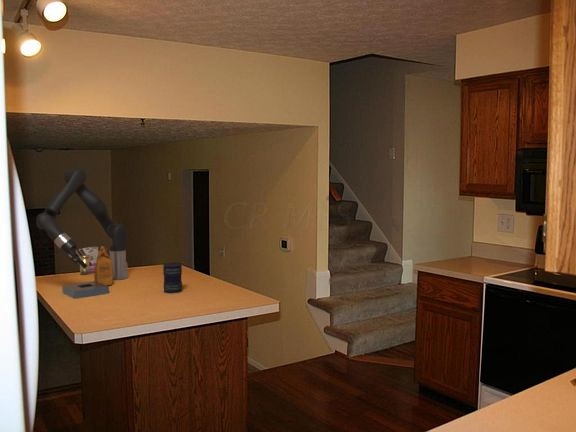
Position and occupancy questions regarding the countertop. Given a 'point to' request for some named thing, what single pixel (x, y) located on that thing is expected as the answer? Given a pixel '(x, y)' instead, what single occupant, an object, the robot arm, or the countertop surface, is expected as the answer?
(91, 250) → the candy bar box
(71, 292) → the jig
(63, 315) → the countertop surface
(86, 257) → the brass mushroom peg
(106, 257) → the coffee package
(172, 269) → the storage jar
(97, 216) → the robot arm
